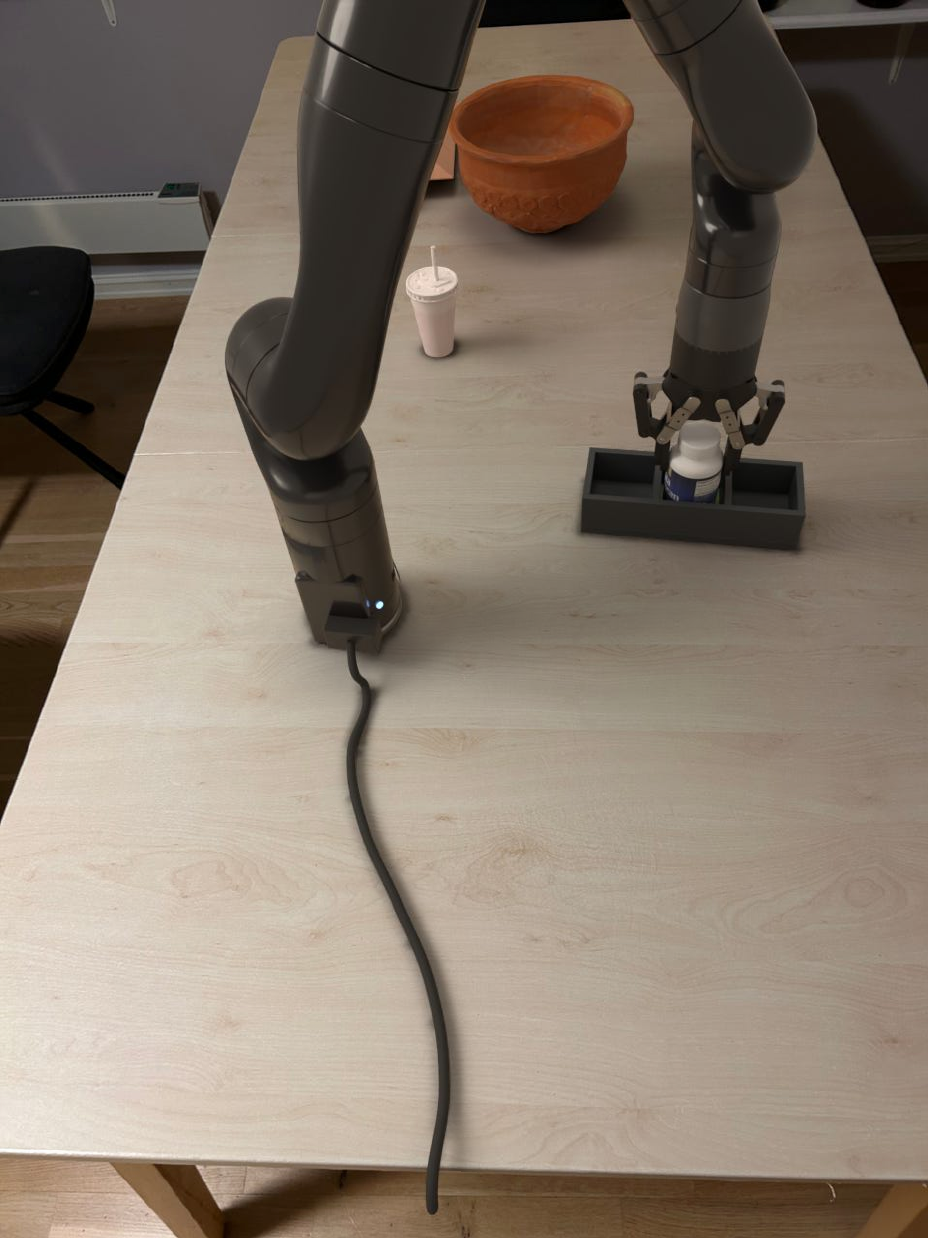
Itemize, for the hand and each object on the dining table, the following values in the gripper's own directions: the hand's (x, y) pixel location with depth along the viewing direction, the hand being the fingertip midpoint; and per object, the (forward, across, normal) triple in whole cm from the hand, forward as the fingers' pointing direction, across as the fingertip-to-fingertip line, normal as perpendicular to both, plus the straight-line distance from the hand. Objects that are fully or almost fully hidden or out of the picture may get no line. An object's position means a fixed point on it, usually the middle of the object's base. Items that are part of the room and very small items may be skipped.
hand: (694, 467), depth 93 cm
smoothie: (+7, -32, +26) cm, 42 cm away
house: (+7, -50, +73) cm, 89 cm away
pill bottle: (+6, 0, 0) cm, 6 cm away
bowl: (+7, -23, +58) cm, 63 cm away
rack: (+7, 0, 0) cm, 7 cm away
